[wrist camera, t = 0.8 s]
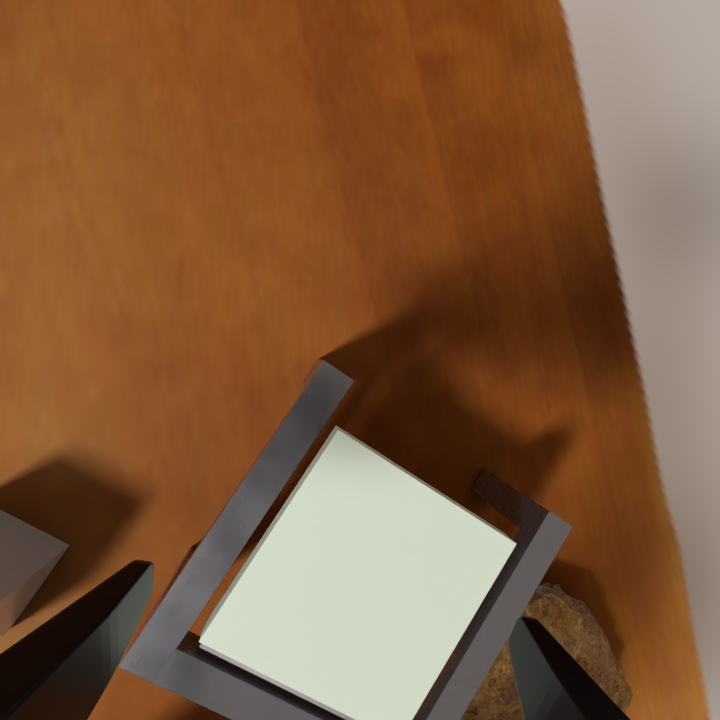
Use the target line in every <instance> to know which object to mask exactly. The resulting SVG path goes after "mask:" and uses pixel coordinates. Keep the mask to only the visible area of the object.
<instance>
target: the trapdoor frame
mask: <svg viewBox="0 0 720 720" xmlns="http://www.w3.org/2000/svg"><path fill="white" fill-rule="evenodd" d="M353 381H354V380H353V379H351V378H350V377H348V376H347V375H345V374H344V373H342V372H341V371H339V370H338V369H336V368H335V367H333V366H332V365H330V364H329V363H327V362H326V361H324V360H321V359H318V360H317V362H316V363H315V365H314V366H313V368H312V369H311V371H310V372H309V374H308V375H307V376H306V378H305V379H304V390H303V391H302V393H301V394H300V396H299V397H298V399H297V400H296V401H295V403H294V404H293V406H292V407H291V409H290V410H289V412H288V413H287V415H286V416H285V418H284V419H283V421H282V422H281V424H280V425H279V427H278V428H277V430H276V431H275V433H274V434H273V436H272V437H271V439H270V440H269V441H268V443H267V444H266V446H265V447H264V449H263V450H262V452H261V453H260V455H259V456H258V458H257V459H256V461H255V462H254V464H253V465H252V467H251V468H250V470H249V471H248V473H247V474H246V476H245V477H244V478H243V480H242V481H241V483H240V484H239V486H238V487H237V489H236V490H235V492H234V493H233V495H232V496H231V498H230V499H229V501H228V502H227V504H226V505H225V507H224V508H223V510H222V511H221V513H220V514H219V516H218V517H217V518H216V520H215V521H214V523H213V524H212V526H211V527H210V529H209V530H208V532H207V533H206V535H205V536H204V538H203V539H202V541H201V542H200V544H199V545H198V547H197V548H196V549H195V548H193V547H191V548H190V549H189V551H188V552H187V554H186V555H185V557H184V558H183V560H182V561H181V563H180V564H179V566H178V567H177V569H176V570H175V572H174V573H173V575H172V577H171V578H170V580H169V582H168V584H167V585H166V587H165V589H164V590H163V592H162V594H161V595H160V597H159V599H158V600H157V602H156V604H155V605H154V607H153V609H152V611H151V612H150V614H149V616H148V617H147V619H146V621H145V622H144V624H143V626H142V627H141V629H140V631H139V632H138V634H137V636H136V638H135V639H134V641H133V643H132V644H131V646H130V648H129V649H128V651H127V653H126V654H125V656H124V658H123V659H122V661H121V663H120V665H119V666H118V667H120V668H122V669H124V670H126V671H128V672H131V673H133V674H135V675H137V676H139V677H141V678H143V679H146V680H148V681H150V682H152V683H154V684H156V685H158V686H161V687H163V688H165V689H167V690H169V691H171V692H173V693H176V694H178V695H180V696H182V697H184V698H186V699H189V700H191V701H193V702H195V703H197V704H199V705H201V706H204V707H206V708H208V709H210V710H212V711H214V712H216V713H219V714H221V715H223V716H225V717H227V718H229V719H231V720H346V719H344V718H341V717H339V716H337V715H335V714H333V713H331V712H329V711H327V710H325V709H323V708H321V707H319V706H317V705H315V704H313V703H311V702H309V701H307V700H305V699H303V698H301V697H299V696H297V695H295V694H293V693H291V692H289V691H287V690H285V689H283V688H281V687H279V686H277V685H275V684H273V683H271V682H269V681H267V680H264V679H262V678H260V677H258V676H256V675H254V674H252V673H250V672H248V671H246V670H244V669H242V668H240V667H238V666H236V665H234V664H232V663H230V662H228V661H226V660H224V659H222V658H220V657H218V656H216V655H214V654H212V653H210V652H208V651H206V650H204V649H202V648H200V647H199V646H200V642H199V639H200V636H198V635H196V634H194V633H192V632H190V631H188V630H189V629H190V627H191V626H192V624H193V623H194V621H195V620H196V618H197V617H198V615H199V614H200V612H201V611H202V609H203V608H204V606H205V605H206V603H207V602H208V600H209V599H210V597H211V596H212V594H213V593H214V591H215V590H216V588H217V587H218V585H219V583H220V582H221V580H222V579H223V577H224V576H225V574H226V573H227V571H228V570H229V568H230V567H231V565H232V564H233V562H234V561H235V559H236V558H237V556H238V555H239V553H240V552H241V550H242V549H243V547H244V546H245V544H246V543H247V541H248V540H249V538H250V537H251V535H252V534H253V532H254V531H255V529H256V528H257V526H258V525H259V523H260V522H261V520H262V519H263V517H264V516H265V514H266V513H267V511H268V510H269V508H270V507H271V505H272V504H273V502H274V501H275V499H276V498H277V496H278V495H279V493H280V492H281V490H282V488H283V487H284V485H285V484H286V482H287V481H288V479H289V478H290V476H291V475H292V473H293V472H294V470H295V469H296V467H297V466H298V464H299V463H300V461H301V460H302V458H303V457H304V455H305V454H306V452H307V451H308V449H309V448H310V446H311V445H312V443H313V442H314V440H315V439H316V437H317V436H318V434H319V433H320V431H321V430H322V428H323V427H324V425H325V424H326V422H327V421H328V419H329V418H330V416H331V415H332V413H333V412H334V410H335V409H336V407H337V406H338V404H339V403H340V401H341V400H342V398H343V397H344V395H345V393H346V392H347V390H348V389H349V387H350V386H351V384H352V383H353ZM471 489H472V490H473V491H474V492H475V493H477V494H478V495H479V496H480V497H482V498H483V499H484V500H485V501H487V502H488V503H489V504H490V505H492V506H493V507H494V508H495V509H496V510H498V511H499V512H500V513H501V514H503V515H504V516H505V517H506V518H508V519H509V520H510V521H511V522H513V523H514V524H515V525H516V526H518V527H519V530H518V532H517V534H516V535H515V537H514V539H513V541H514V542H515V543H516V546H515V548H514V549H513V551H512V553H511V554H510V556H509V558H508V559H507V561H506V563H505V564H504V566H503V568H502V569H501V571H500V573H499V575H498V576H497V578H496V580H495V581H494V583H493V585H492V586H491V588H490V590H489V591H488V593H487V595H486V596H485V598H484V600H483V602H482V603H481V605H480V607H479V608H478V610H477V612H476V613H475V615H474V617H473V618H472V620H471V622H470V623H469V625H468V627H467V628H466V630H465V632H464V634H463V635H462V637H461V639H460V640H459V642H458V644H457V645H456V647H455V649H454V650H453V652H452V654H451V655H450V657H449V659H448V660H447V662H446V664H445V666H444V667H443V669H442V671H441V672H440V674H439V676H438V677H437V679H436V681H435V682H434V684H433V686H432V687H431V689H430V691H429V692H428V694H427V696H426V698H425V699H424V701H423V703H422V704H421V706H420V708H419V709H418V711H417V713H416V714H415V716H414V718H413V719H412V720H460V719H461V718H462V716H463V714H464V712H465V711H466V709H467V707H468V706H469V704H470V702H471V700H472V699H473V697H474V695H475V694H476V692H477V690H478V688H479V687H480V685H481V683H482V682H483V680H484V678H485V676H486V675H487V673H488V671H489V670H490V668H491V666H492V664H493V663H494V661H495V659H496V657H497V656H498V654H499V652H500V651H501V649H502V647H503V645H504V644H505V642H506V640H507V639H508V637H509V635H510V633H511V631H512V629H513V627H514V624H515V622H516V620H517V618H518V617H519V616H521V614H522V613H523V611H524V609H525V608H526V606H527V604H528V602H529V601H530V599H531V597H532V596H533V594H534V592H535V590H536V589H537V587H538V585H539V584H540V582H541V580H542V578H543V577H544V575H545V573H546V572H547V570H548V568H549V566H550V565H551V563H552V561H553V559H554V558H555V556H556V554H557V553H558V551H559V549H560V547H561V546H562V544H563V542H564V541H565V539H566V537H567V535H568V534H569V532H570V530H571V529H572V526H571V525H569V524H568V523H566V522H565V521H563V520H562V519H560V518H559V517H557V516H556V515H554V514H553V513H551V512H550V511H548V510H547V509H545V508H544V507H542V506H541V505H539V504H537V503H536V502H534V501H533V500H531V499H530V498H528V497H526V496H525V495H523V494H522V493H520V492H519V491H517V490H515V489H514V488H512V487H511V486H509V485H508V484H506V483H505V482H503V481H501V480H500V479H498V478H497V477H495V476H494V475H492V474H490V473H489V472H487V471H486V470H484V469H483V471H482V472H481V474H480V475H479V477H478V479H477V480H476V482H475V484H474V485H473V487H472V488H471Z"/></svg>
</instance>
